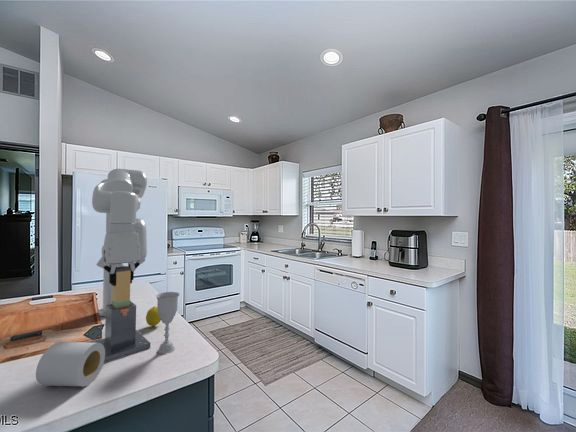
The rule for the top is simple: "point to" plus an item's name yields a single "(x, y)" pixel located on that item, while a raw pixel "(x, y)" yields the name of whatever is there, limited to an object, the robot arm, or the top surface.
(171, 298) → the chalice
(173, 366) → the top surface
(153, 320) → the lemon
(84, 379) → the toilet paper
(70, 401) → the top surface
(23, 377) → the top surface
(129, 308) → the stand
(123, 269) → the column
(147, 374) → the top surface
